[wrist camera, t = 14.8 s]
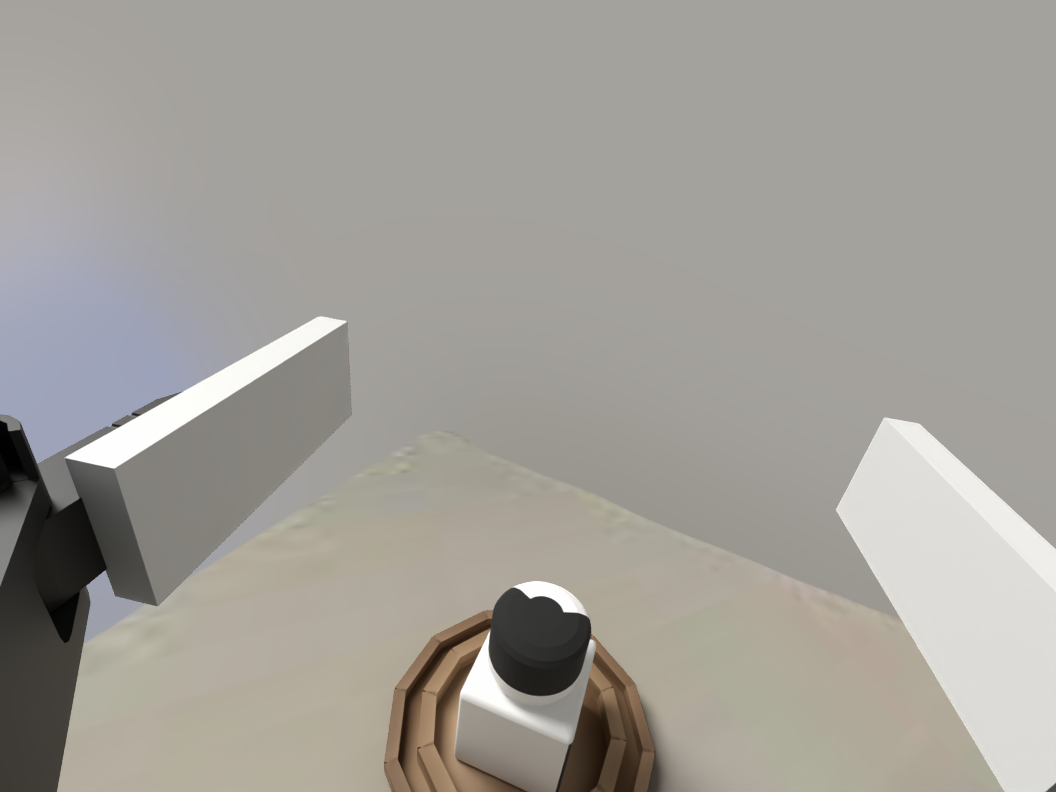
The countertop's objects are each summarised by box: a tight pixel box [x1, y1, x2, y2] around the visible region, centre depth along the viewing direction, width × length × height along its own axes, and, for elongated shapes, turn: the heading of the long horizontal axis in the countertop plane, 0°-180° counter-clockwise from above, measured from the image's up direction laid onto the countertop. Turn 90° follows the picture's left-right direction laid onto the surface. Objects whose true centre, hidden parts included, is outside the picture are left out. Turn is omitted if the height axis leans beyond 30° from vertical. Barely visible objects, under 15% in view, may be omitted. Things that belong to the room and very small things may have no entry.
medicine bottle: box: [454, 581, 596, 792], centre depth 33 cm, size 7×7×12 cm
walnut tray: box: [384, 610, 655, 792], centre depth 35 cm, size 18×18×2 cm
